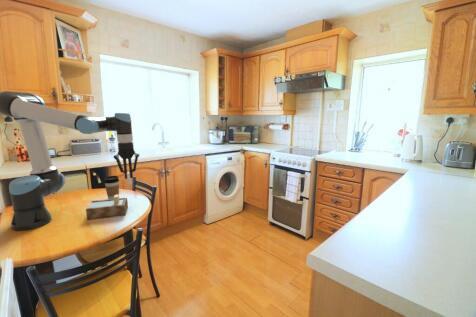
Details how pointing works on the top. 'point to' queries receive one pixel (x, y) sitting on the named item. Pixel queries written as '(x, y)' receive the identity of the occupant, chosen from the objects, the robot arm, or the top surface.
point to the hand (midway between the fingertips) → (129, 184)
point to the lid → (107, 202)
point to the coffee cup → (112, 186)
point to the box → (107, 210)
